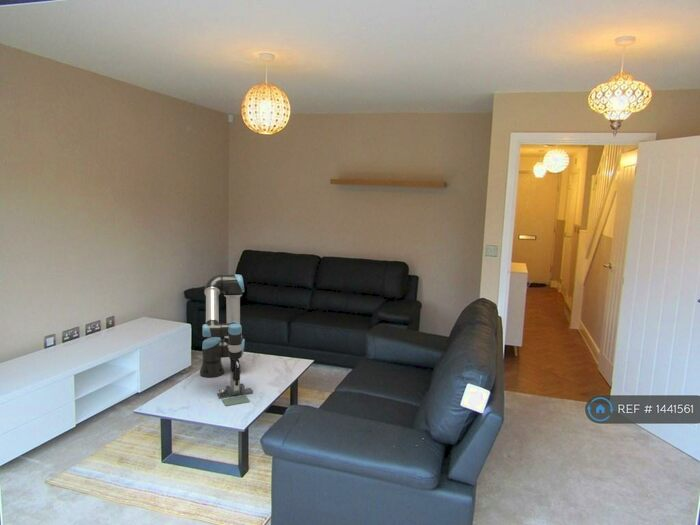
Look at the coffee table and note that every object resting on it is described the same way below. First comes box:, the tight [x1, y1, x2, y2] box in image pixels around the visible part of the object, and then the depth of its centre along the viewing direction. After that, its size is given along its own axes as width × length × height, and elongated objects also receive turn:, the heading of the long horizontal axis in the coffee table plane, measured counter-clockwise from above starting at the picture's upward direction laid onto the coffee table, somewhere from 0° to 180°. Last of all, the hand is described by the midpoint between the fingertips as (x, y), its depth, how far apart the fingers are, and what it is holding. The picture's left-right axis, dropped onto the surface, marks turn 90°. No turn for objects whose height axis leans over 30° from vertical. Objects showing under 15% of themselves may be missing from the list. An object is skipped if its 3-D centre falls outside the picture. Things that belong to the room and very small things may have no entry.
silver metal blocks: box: [216, 383, 254, 400], centre depth 289 cm, size 5×20×6 cm, turn 118°
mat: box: [221, 394, 251, 407], centre depth 281 cm, size 9×14×1 cm, turn 118°
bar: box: [229, 369, 242, 396], centre depth 289 cm, size 5×5×14 cm
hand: (235, 388), depth 289 cm, fingers closed on bar, 5 cm apart
